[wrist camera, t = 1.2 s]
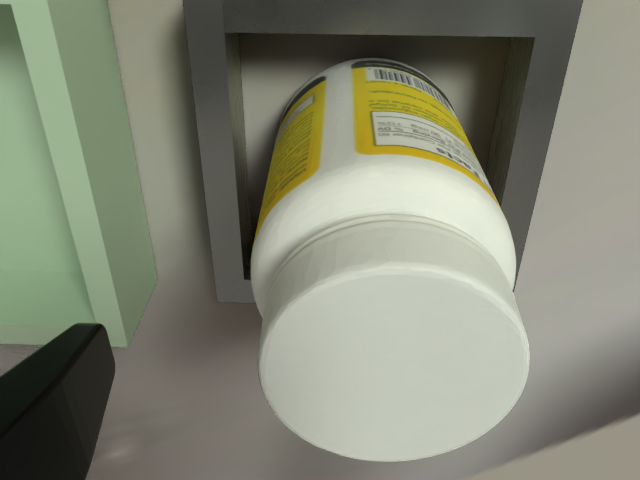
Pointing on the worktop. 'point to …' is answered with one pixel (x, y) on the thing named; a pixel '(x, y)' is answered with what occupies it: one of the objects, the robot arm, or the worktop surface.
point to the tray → (67, 178)
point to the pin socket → (373, 19)
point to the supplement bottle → (384, 272)
